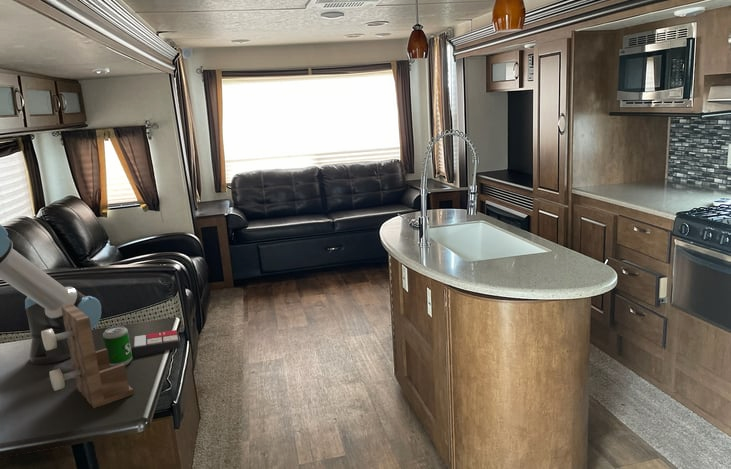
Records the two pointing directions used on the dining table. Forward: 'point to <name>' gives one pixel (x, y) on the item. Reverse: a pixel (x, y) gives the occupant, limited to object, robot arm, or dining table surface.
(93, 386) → the knob panel
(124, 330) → the soda can
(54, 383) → the lower knob
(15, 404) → the dining table surface
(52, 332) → the upper knob
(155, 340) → the calculator
